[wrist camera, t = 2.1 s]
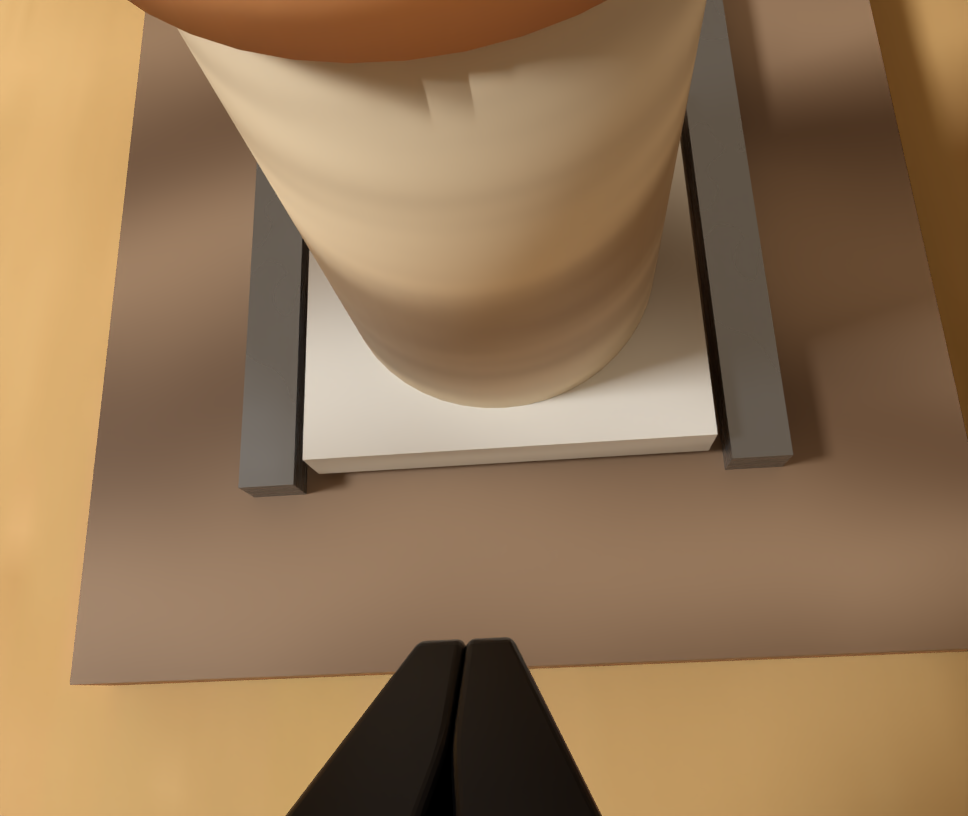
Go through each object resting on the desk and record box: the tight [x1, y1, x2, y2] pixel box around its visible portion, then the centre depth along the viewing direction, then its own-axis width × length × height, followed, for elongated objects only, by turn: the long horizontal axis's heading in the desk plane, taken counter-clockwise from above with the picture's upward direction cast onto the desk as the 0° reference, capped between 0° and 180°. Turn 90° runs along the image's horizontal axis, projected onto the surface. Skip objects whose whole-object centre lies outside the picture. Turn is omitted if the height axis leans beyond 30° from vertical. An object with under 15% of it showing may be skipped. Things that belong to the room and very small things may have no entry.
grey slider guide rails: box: [238, 0, 793, 497], centre depth 17 cm, size 17×12×3 cm
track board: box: [70, 0, 968, 685], centre depth 19 cm, size 22×16×2 cm
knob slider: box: [128, 0, 717, 474], centre depth 11 cm, size 7×7×11 cm
